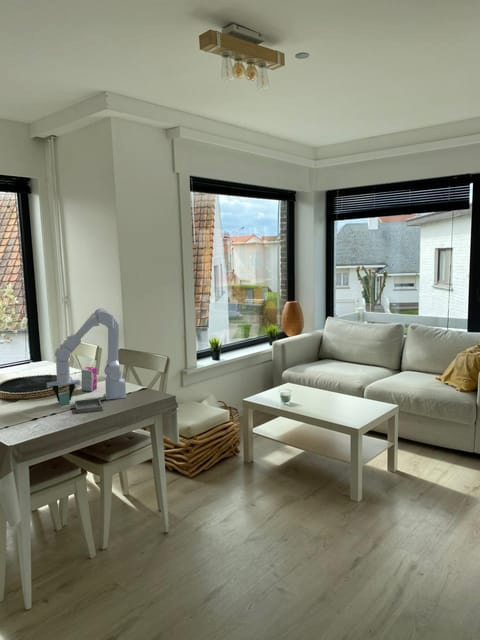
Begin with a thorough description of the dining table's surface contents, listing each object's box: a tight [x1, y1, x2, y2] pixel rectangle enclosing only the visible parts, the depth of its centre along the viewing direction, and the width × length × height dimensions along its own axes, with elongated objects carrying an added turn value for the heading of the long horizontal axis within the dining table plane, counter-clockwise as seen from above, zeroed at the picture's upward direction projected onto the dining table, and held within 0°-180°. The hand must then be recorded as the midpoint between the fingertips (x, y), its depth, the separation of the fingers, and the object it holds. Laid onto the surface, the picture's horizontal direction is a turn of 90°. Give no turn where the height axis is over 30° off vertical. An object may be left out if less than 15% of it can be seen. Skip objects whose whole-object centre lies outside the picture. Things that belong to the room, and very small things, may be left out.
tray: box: [74, 397, 104, 414], centre depth 225 cm, size 11×11×2 cm
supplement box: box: [81, 366, 98, 393], centre depth 248 cm, size 6×6×12 cm
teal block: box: [58, 391, 71, 406], centre depth 229 cm, size 4×4×4 cm
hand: (64, 400), depth 229 cm, fingers closed on teal block, 4 cm apart
